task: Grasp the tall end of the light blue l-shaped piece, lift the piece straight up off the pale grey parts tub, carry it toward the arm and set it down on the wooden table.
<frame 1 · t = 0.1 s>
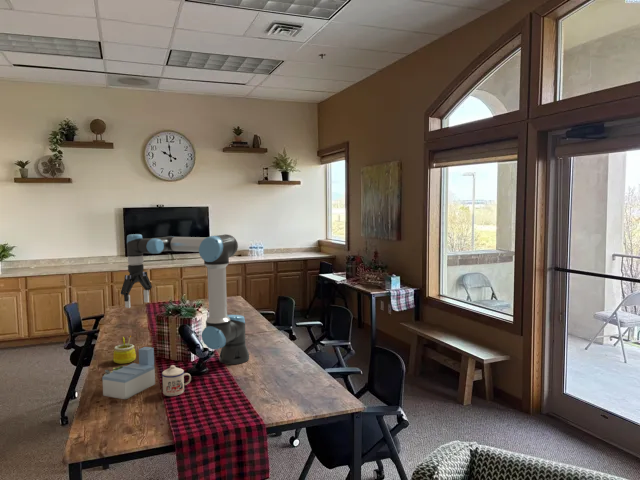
hand: (137, 304, 253), 28 cm above the table, fingers open, 13 cm apart
tub: (129, 389, 212), on the table
salad plate: (125, 377, 229), on the table
light blue l-shaped piece: (129, 373, 211), point 7 cm above the table, touching tub
mug: (126, 361, 251), on the table
teacup with lid: (177, 392, 209), on the table
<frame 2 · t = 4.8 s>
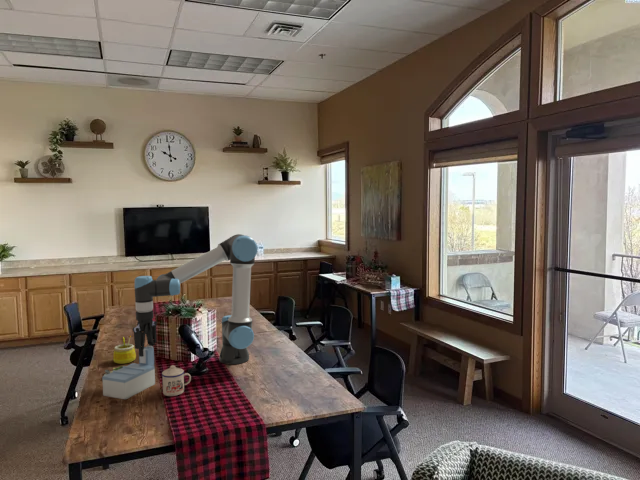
hand: (146, 361, 221), 9 cm above the table, fingers closed on light blue l-shaped piece, 4 cm apart
light blue l-shaped piece: (129, 373, 211), point 7 cm above the table, touching gripper, tub
everything else where it was.
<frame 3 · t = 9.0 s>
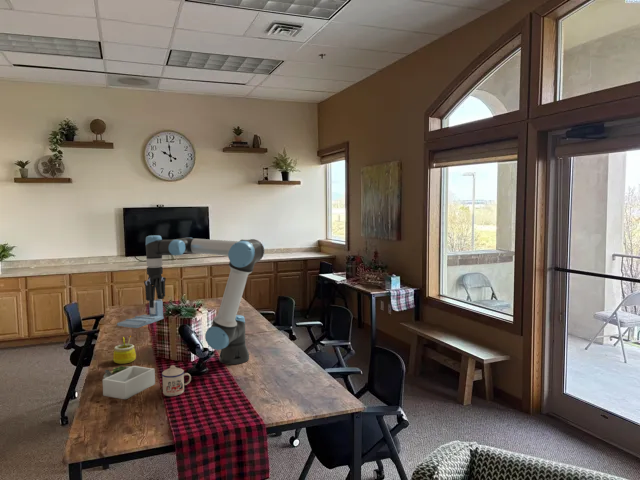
hand: (156, 312, 245), 26 cm above the table, fingers closed on light blue l-shaped piece, 4 cm apart
light blue l-shaped piece: (141, 322, 235), point 24 cm above the table, touching gripper
everything else where it was.
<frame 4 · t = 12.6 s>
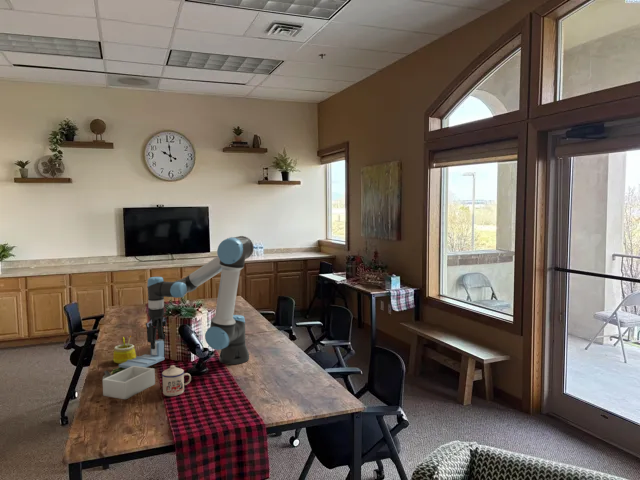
hand: (157, 353, 246), 5 cm above the table, fingers closed on light blue l-shaped piece, 4 cm apart
salad plate: (124, 378, 229), on the table, touching light blue l-shaped piece
light blue l-shaped piece: (142, 363, 236), point 3 cm above the table, touching gripper, salad plate
everything else where it was.
when the fingers open (5 cm above the table, at t = 13.4 s): light blue l-shaped piece stays where it is, point 3 cm above the table.
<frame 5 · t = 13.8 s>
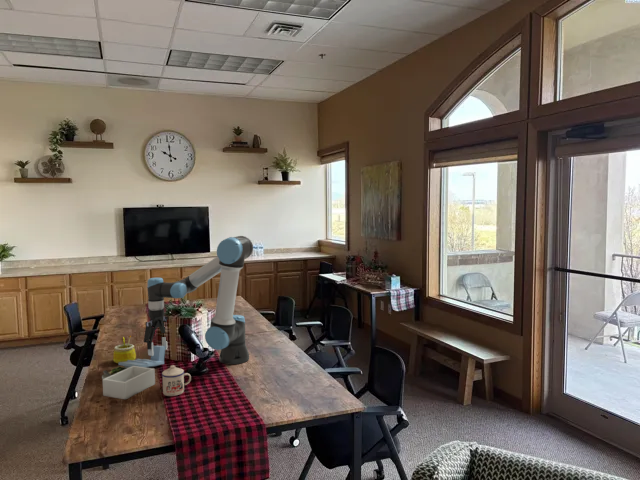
hand: (158, 352, 246), 5 cm above the table, fingers open, 10 cm apart
salad plate: (123, 377, 228), on the table
light blue l-shaped piece: (141, 364, 236), point 3 cm above the table, tilted 12°
everything else where it was.
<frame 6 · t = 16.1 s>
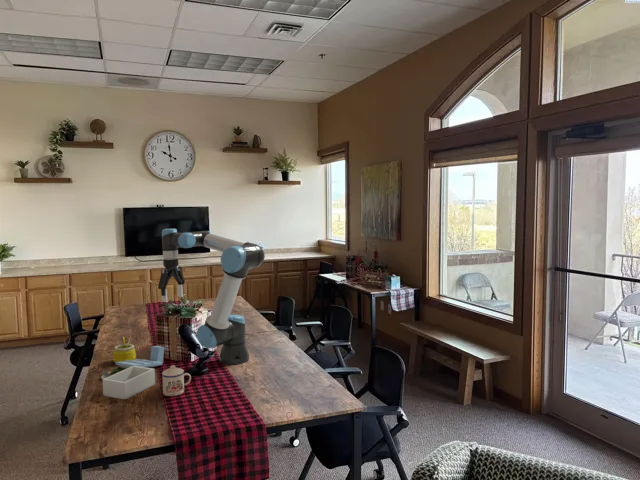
hand: (172, 299, 253), 31 cm above the table, fingers open, 13 cm apart
salad plate: (123, 377, 228), on the table, touching light blue l-shaped piece
light blue l-shaped piece: (139, 364, 236), point 3 cm above the table, tilted 13°, touching salad plate
everything else where it was.
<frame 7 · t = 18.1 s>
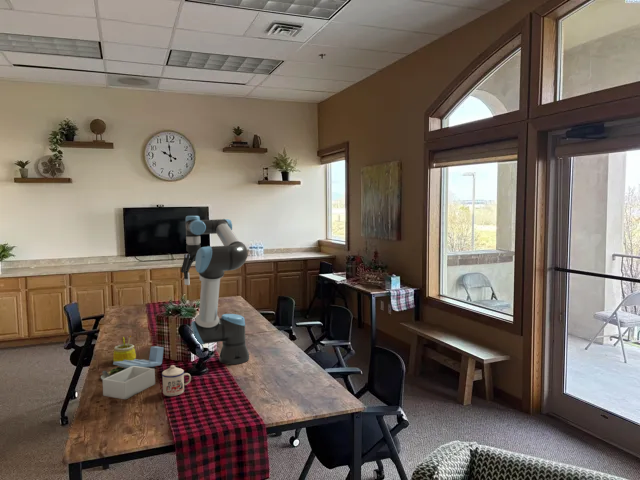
hand: (194, 282, 268), 37 cm above the table, fingers open, 13 cm apart
light blue l-shaped piece: (137, 364, 235), point 3 cm above the table, tilted 13°, touching salad plate
everything else where it was.
at the end: light blue l-shaped piece inside the target area (2.7 cm from its centre), point 3.0 cm above the table; light blue l-shaped piece touching nothing; the gripper is holding nothing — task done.
